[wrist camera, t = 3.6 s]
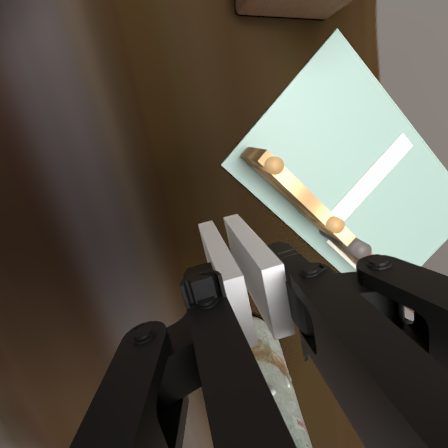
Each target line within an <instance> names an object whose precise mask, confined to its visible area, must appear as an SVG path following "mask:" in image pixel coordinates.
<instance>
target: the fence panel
mask: <svg viewBox="0 0 448 448" xmlns="http://www.w3.org/2000/svg"><path fill="white" fill-rule="evenodd" d="M241 157H242V158H243V159H244V160H245V161H246V163H247V164H248V165H249V166H251V167H252V168H253V169H255V170H256V171H257V172H258V173H259V174H260V175H261V176H262V177H263V178H264V179H265V180H266V181H267V182H268V183H270V184H271V185H272V186H273V187H274V188H275V189H276V190H277V191H278V192H279V193H280V194H281V195H282V196H283V197H284V198H286V199H287V200H288V201H289V202H290V203H291V204H292V205H293V206H294V207H295V208H296V209H297V210H298V211H299V213H300V214H302V215H304V216H305V217H306V218H307V219H308V220H309V221H310V222H311V223H312V224H313V225H314V226H315V227H317V228H318V229H320V230H321V231H323V232H324V233H326V234H328V235H329V236H331V237H333V238H334V239H336V240H338V241H339V242H341V243H343V244H344V245H346V246H348V245H349V244H350V243H351V242H352V241H353V240H354V239H355V237H356V236H355V235H354V234H353V233H352V232H351V231H350V230H349V229H348V228H347V227H346V226H345V222H344V220H343V219H341V218H339V217H336V216H334V215H333V214H332V213H331V212H330V211H329V210H328V209H327V208H326V207H325V206H324V205H323V204H322V203H321V202H320V201H319V200H318V199H317V198H316V197H315V196H314V195H313V194H312V193H311V192H310V191H309V190H308V189H307V188H306V187H305V186H304V185H303V184H302V183H301V182H300V181H299V180H298V179H297V178H296V177H295V176H294V175H293V174H292V173H291V172H290V171H289V170H288V169H287V168H286V167H285V166H284V162H283V160H282V159H281V158H279V157H274V156H273V155H272V154H271V153H270V152H269V151H268V150H267V149H260V148H253V147H247V149H246V150H245V151H244V152H243V153H242V155H241Z"/></svg>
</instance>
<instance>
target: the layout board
mask: <svg viewBox="0 0 448 448" xmlns="http://www.w3.org/2000/svg"><path fill="white" fill-rule="evenodd" d="M247 147H253V148H260V149H267V150H268V151H269V152H270V153H271V154H272V155H273V156H274V157H279V158H281V159H282V160H283V162H284V166H285V167H286V168H287V169H288V170H289V171H290V172H291V173H292V174H293V175H294V176H295V177H296V178H297V179H298V180H299V181H300V182H301V183H302V184H303V185H304V186H305V187H306V188H307V189H308V190H309V191H310V192H311V193H312V194H313V195H314V196H315V197H316V198H317V199H318V200H319V201H320V202H321V203H322V204H323V205H324V206H325V207H326V208H327V209H328V210H329V211H330V212H331V213H332V214H333V215H334V216H336V217H339V218H341V219H343V220H344V222H345V226H346V227H347V228H348V229H349V230H350V231H351V232H352V233H353V234H354V235H355V236H356V238H358V239H360V240H362V241H363V242H365V243H367V244H369V245H370V246H371V248H372V251H371V252H372V253H373V254H380V255H388V256H392V257H395V258H398V259H401V260H404V261H407V262H409V263H412V264H415V265H418V266H422V265H423V264H424V263H425V262H426V260H428V259H429V257H430V256H431V255H432V254H433V253H434V252H435V251H436V250H437V249H438V248H439V247H440V246H441V245H442V244H443V243H444V242H445V241H446V240H447V239H448V172H447V170H446V169H445V168H444V166H443V165H442V164H441V162H440V161H439V160H438V158H437V157H436V156H435V155H434V153H433V152H432V151H431V149H430V148H429V147H428V146H427V144H426V143H425V142H424V140H423V139H422V138H421V136H420V135H419V134H418V132H417V131H416V130H415V129H414V127H413V126H412V125H411V123H410V122H409V121H408V119H407V118H406V117H405V116H404V114H403V113H402V112H401V110H400V109H399V108H398V107H397V105H396V104H395V103H394V101H393V100H392V99H391V97H390V96H389V95H388V94H387V92H386V91H385V90H384V88H383V87H382V86H381V84H380V83H379V82H378V80H377V79H376V78H375V77H374V75H373V74H372V73H371V71H370V70H369V69H368V67H367V66H366V65H365V64H364V62H363V61H362V60H361V58H360V57H359V56H358V54H357V53H356V52H355V51H354V49H353V48H352V47H351V45H350V44H349V43H348V41H347V40H346V39H345V38H344V36H343V35H342V34H341V32H340V31H339V30H338V28H337V29H335V30H334V32H333V33H332V34H331V35H330V36H329V37H328V39H327V40H326V41H325V42H324V43H323V44H322V46H321V47H320V48H319V49H318V50H317V52H316V53H315V54H314V55H313V56H312V57H311V59H310V60H309V61H308V62H307V63H306V64H305V66H304V67H303V68H302V69H301V70H300V72H299V73H298V74H297V75H296V76H295V77H294V79H293V80H292V81H291V82H290V83H289V84H288V86H287V87H286V88H285V89H284V90H283V92H282V93H281V94H280V95H279V96H278V97H277V99H276V100H275V101H274V102H273V103H272V104H271V106H270V107H269V108H268V109H267V110H266V112H265V113H264V114H263V115H262V116H261V117H260V119H259V120H258V121H257V122H256V123H255V124H254V126H253V127H252V128H251V129H250V130H249V132H248V133H247V134H246V135H245V136H244V137H243V139H242V140H241V141H240V142H239V143H238V145H237V146H236V147H235V148H234V149H233V150H232V152H231V153H230V154H229V155H228V156H227V157H226V159H225V160H224V161H223V162H222V163H221V166H222V167H224V168H225V169H226V170H227V171H228V172H229V173H230V174H231V175H232V176H234V177H235V178H236V179H237V180H238V181H239V182H240V183H241V184H242V185H244V186H245V187H246V188H247V189H248V190H249V191H250V192H251V193H252V194H254V195H255V196H256V197H257V198H258V199H259V200H260V201H261V202H263V203H264V204H265V205H266V206H267V207H268V208H269V209H270V210H271V211H273V212H274V213H275V214H276V215H277V216H278V217H279V218H280V219H281V220H283V221H284V222H285V223H286V224H287V225H288V226H289V227H290V228H292V229H293V230H294V231H295V232H296V233H297V234H298V235H299V236H300V237H302V238H303V239H304V240H305V241H306V242H307V243H308V244H309V245H310V246H312V247H313V248H314V249H315V250H316V251H317V252H318V253H319V254H320V255H322V256H323V257H324V258H325V259H326V260H327V261H328V262H329V263H331V264H332V265H333V266H334V267H335V268H336V269H337V270H338V271H339V272H341V273H346V272H355V271H356V264H355V263H354V262H352V261H351V260H350V259H349V258H348V257H347V256H346V255H345V254H344V253H343V252H342V251H341V250H340V249H339V248H337V247H336V246H335V245H334V244H333V243H332V242H331V241H330V240H329V239H327V238H325V237H324V236H322V235H321V234H320V232H319V229H318V228H317V227H315V226H314V225H313V224H312V223H311V222H310V221H309V220H308V219H307V218H306V217H305V216H304V215H302V214H300V213H299V211H298V210H297V209H296V208H295V207H294V206H293V205H292V204H291V203H290V202H289V201H288V200H287V199H286V198H284V197H283V196H282V195H281V194H280V193H279V192H278V191H277V190H276V189H275V188H274V187H273V186H272V185H271V184H270V183H268V182H267V181H266V180H265V179H264V178H263V177H262V176H261V175H260V174H259V173H258V172H257V171H256V170H255V169H253V168H252V167H251V166H249V165H248V164H247V163H246V161H245V160H244V159H243V158H242V157H241V155H242V153H243V152H244V151H245V150H246V149H247Z"/></svg>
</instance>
